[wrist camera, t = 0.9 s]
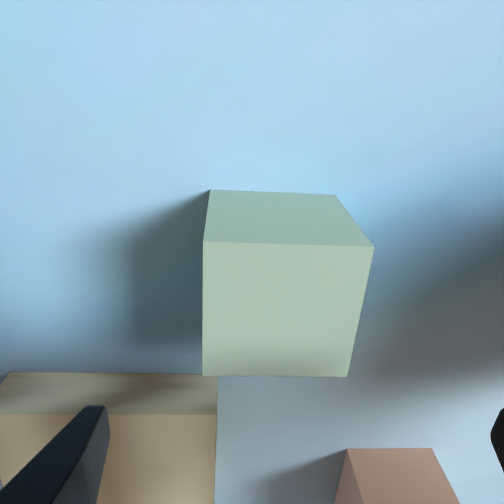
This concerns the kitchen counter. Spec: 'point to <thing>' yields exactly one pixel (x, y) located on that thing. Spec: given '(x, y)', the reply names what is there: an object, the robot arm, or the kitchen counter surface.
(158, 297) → the kitchen counter surface
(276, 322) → the sage cube
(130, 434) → the oak block
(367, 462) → the terracotta cube
